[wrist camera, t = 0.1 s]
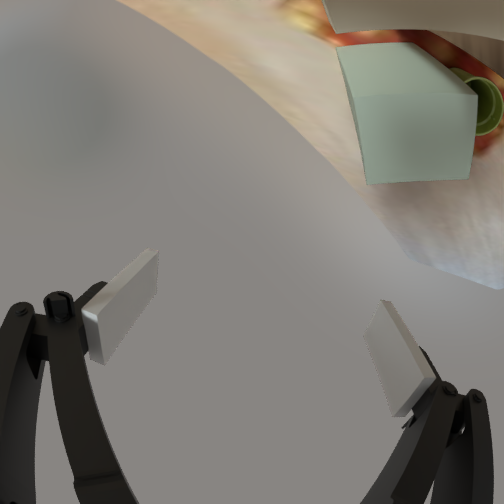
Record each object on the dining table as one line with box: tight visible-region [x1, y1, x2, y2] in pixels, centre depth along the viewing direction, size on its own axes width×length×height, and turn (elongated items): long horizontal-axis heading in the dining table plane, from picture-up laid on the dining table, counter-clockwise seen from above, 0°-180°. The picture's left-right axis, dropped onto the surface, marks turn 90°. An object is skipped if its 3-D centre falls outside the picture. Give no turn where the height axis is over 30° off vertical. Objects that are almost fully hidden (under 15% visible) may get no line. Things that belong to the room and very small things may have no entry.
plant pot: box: [449, 68, 504, 136], centre depth 25 cm, size 9×9×9 cm
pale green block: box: [335, 42, 478, 185], centre depth 26 cm, size 10×12×20 cm
